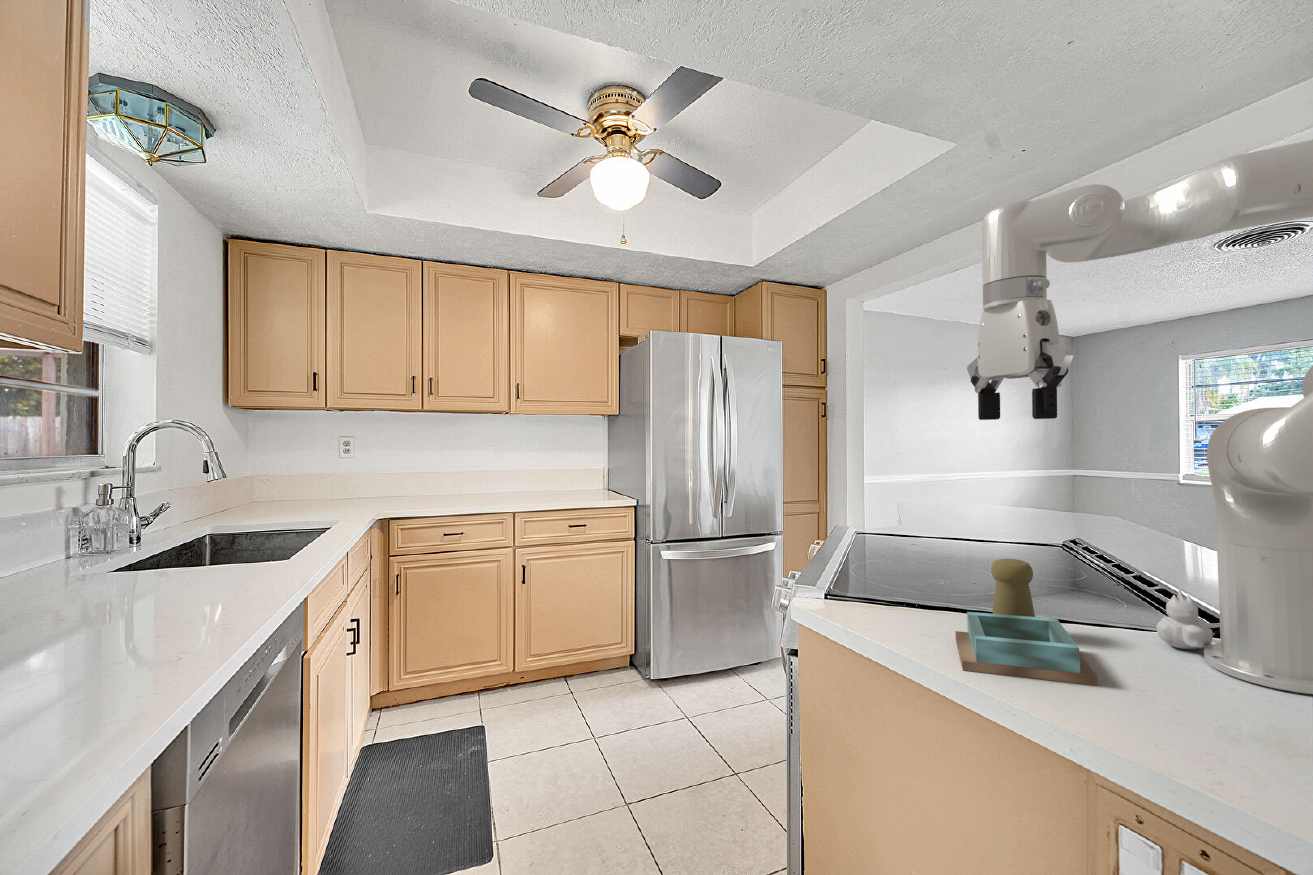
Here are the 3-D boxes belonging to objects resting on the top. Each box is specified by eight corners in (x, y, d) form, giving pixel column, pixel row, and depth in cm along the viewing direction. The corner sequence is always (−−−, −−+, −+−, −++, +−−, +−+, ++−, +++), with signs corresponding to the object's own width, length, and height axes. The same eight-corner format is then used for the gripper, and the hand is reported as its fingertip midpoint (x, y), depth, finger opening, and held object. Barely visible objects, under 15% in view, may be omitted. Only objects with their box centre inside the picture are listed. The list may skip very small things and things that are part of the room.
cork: (1030, 627, 84) (1027, 555, 84) (1046, 643, 79) (1042, 565, 79) (985, 626, 86) (982, 555, 86) (997, 640, 80) (994, 564, 80)
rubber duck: (1197, 641, 77) (1194, 583, 77) (1226, 661, 70) (1224, 598, 70) (1148, 638, 79) (1145, 582, 78) (1173, 657, 72) (1170, 595, 72)
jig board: (1072, 650, 76) (1070, 619, 76) (1097, 685, 66) (1096, 650, 66) (955, 639, 82) (954, 610, 82) (962, 670, 72) (961, 637, 71)
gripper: (1095, 281, 70) (1096, 417, 70) (991, 309, 87) (992, 419, 87) (1042, 280, 69) (1044, 419, 69) (947, 309, 86) (949, 420, 86)
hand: (1015, 419), depth 78 cm, fingers open, 9 cm apart
